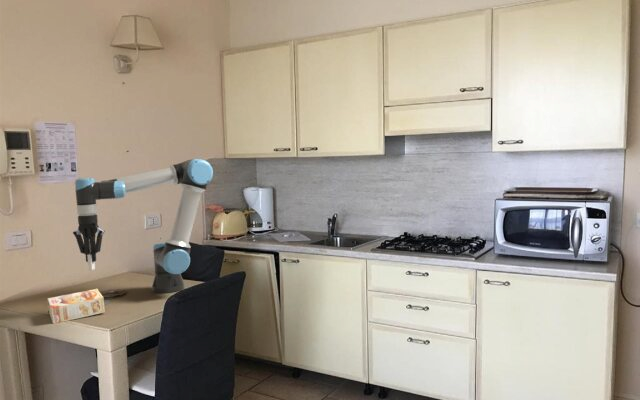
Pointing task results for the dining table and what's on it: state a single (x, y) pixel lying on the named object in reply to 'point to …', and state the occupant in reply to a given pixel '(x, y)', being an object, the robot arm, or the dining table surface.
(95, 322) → the dining table surface
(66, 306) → the coffeecake box
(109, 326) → the dining table surface
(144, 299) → the dining table surface
